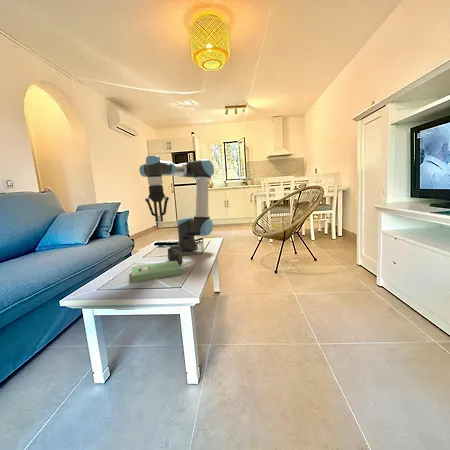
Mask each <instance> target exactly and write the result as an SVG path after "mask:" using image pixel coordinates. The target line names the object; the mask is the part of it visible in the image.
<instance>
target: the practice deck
mask: <svg viewBox="0 0 450 450" xmlns="http://www.w3.org/2000/svg"><path fill="white" fill-rule="evenodd" d="M180 265H181V264H178V262H177V261H169V260H168V261H163V262H157V263H150V264H142V265H135V266H132V267H131V283H136V282H143V281H147V280H148V281H149V280H153V279H155V280H156V279H160V278H164V277H165V278H167V277H171V276H172V277H173V276H178V275H183V270H182V267H181V266H180ZM144 267H147V268H148V269H149V270H146V271H141V270H142V268H144Z"/></svg>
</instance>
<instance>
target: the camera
mask: <svg viewBox="0 0 450 450" xmlns="http://www.w3.org/2000/svg"><path fill="white" fill-rule="evenodd" d="M180 249H181V246H177V245H171V246H170V247H169V248H167V260H168V262H169V261H177V262H178V264H179V265H181V264H183V259H184V258H183V255H184V251H181V250H180Z"/></svg>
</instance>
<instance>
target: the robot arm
mask: <svg viewBox="0 0 450 450" xmlns="http://www.w3.org/2000/svg"><path fill="white" fill-rule="evenodd" d="M139 173H140V175H141V176H142V177H143V178H147V183H148V184H147V185H148V196H147V197H146V198H145V199H144V200H145V202H146V203H147V205H148V209H149V211H150V214H151V216H152V217H153V216H154V217H155V223H157V228H158V229H162V228H163V227H162V222H164V217H163V216H165V215H166V213H167V207H168V202H169V199H170V198H169V197H168V196H166V194H165V193H164V185H163V177H168V176H169V177H171V176H172V177H174V176H177V177H181V178H193V179H194V180H195V183H196V187H195V188H196V189H195V190H196V191H195V193H196V194H195V215H194V216H193V217H188V218H187V217H186V218H181V219H178V220H177V225H176V226H177V233H178V242H177V245H176V246H181V249H180V250H181V251H182V252H190V251H191V250H192V251H196V250H197V249H198V248H199V247H198V243H197V240H196V239H195V237H197V236H199V237H207V236H209V235H211V234H212V231H213V229H214V223H213V220H212V219H211V217H210V215H209V182H210V180H212V179H211V177H212V176H213V175H214V174H215V167H214V164H213V163H212V161H211V160H209V159H201V160H199V159H198V160H193V161H188V162H181V163H180V162H179V163H178V164H175V163H174V162H172V161H169V160H168V161H167V160H166V161H165V160H161V158H160V156H159V155H148V156H146V158H145V163H144V164H141V165H140V166H139ZM150 200H151V202H153V207H152V204H151V202H150ZM163 200H164V203H163V207H162V201H163ZM157 203H158V204H157ZM157 205H158V206H157ZM153 208H154V210H153ZM158 210H159V215H158ZM195 249H196V250H195ZM192 251H191V252H192Z"/></svg>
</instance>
